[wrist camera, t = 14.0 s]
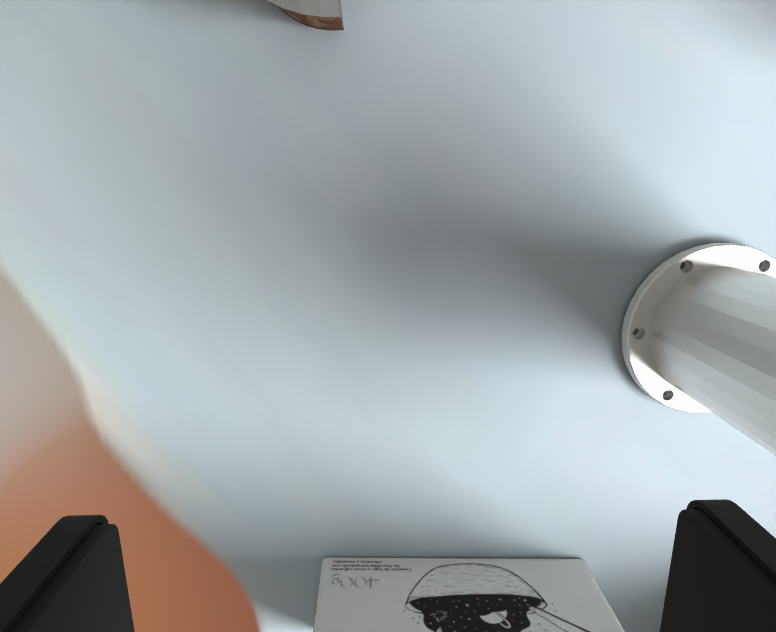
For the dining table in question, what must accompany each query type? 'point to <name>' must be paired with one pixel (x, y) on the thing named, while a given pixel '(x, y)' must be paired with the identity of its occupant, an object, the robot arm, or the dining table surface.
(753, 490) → the dining table surface
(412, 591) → the cereal box
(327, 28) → the food container
